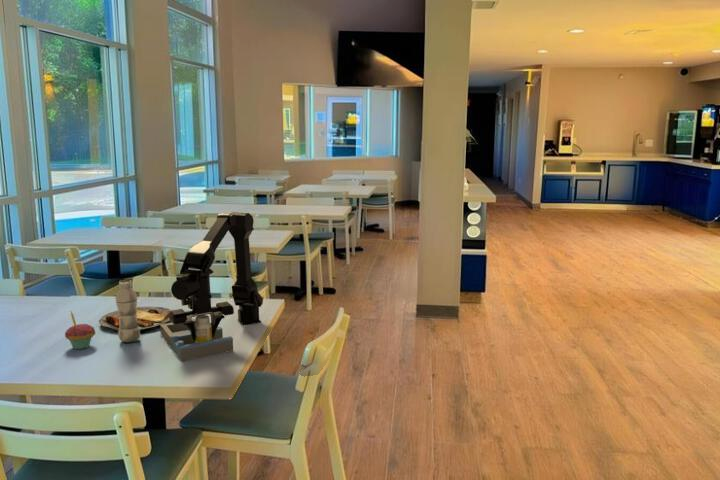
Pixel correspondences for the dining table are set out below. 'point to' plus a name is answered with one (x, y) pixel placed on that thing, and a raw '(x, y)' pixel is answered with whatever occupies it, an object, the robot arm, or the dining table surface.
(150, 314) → the food plate
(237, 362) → the dining table surface
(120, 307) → the plastic bottle
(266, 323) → the dining table surface
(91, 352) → the dining table surface
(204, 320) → the supplement bottle
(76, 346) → the cupcake
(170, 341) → the grey square frame
